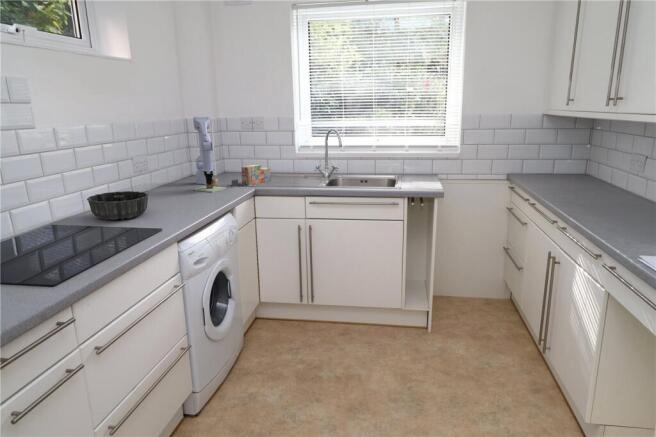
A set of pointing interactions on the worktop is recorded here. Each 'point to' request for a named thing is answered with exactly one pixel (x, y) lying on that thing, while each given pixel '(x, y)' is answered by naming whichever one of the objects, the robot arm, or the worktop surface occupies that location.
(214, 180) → the oak cylinder
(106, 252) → the worktop surface
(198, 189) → the sage board
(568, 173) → the worktop surface
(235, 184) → the charcoal cube
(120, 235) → the worktop surface
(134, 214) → the bundt pan
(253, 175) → the stack of blocks
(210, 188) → the walnut block
